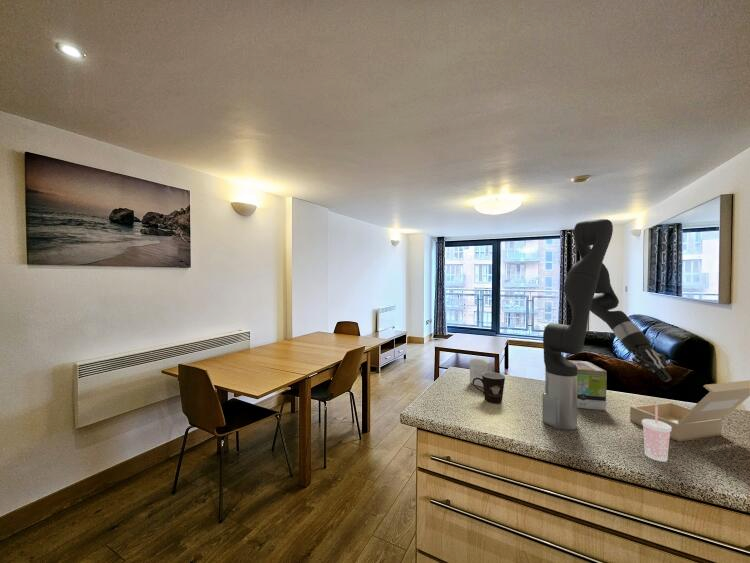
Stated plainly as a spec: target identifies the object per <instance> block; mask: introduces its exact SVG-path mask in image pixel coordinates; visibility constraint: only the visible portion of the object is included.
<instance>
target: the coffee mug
mask: <svg viewBox="0 0 750 563" xmlns="http://www.w3.org/2000/svg"><path fill="white" fill-rule="evenodd" d="M476 379H479V380H481V382H482V383H483V387H482V388H483V390H482V389H480V388H479V387H478V386H477V385H475V384H474V381H475V380H476ZM505 380H506V376H505V374H503V373H500V372H499V373H498V372H495V371H492V372H485V373H483V374H482V379H480V378H475V379H473V382H472V383H473V384H472V383H471V384H472V385H473V386H474V388H475V389H477V390H478V391H479V392H480V393H482V394H483V396H484V401H485V402H487V403H490V404H496V405H499V404H501V403H502V402H503V396H504V389H505V388H504V387H505Z"/></svg>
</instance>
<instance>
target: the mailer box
mask: <svg viewBox="0 0 750 563" xmlns="http://www.w3.org/2000/svg"><path fill="white" fill-rule="evenodd" d="M655 405H657V406H658V421H661V422H664V423H666V424H668V425H670V426H671V427H672V429H671V430H672V431H671V432H670V439H671V440H673V441H674V442H675V441H676V442H677V443H679V442H686V441H693V440H698V439H704V438H705V439H706V438H713V437H718V436H722V430H723V429H722V425H723V423H722V421H723V418H721V419H714V420H706V421H699V422H692V423H684V424H679V423H678V421H679V420H680V419H681V418H683V417H684V416H685V415H686V414H687V413H688V412H689V411H690V410H691V409H692V408H691V407H690V408H689V407H686V406H684V405H682V404H677V403H674V402H671V401H668V402H667V401H666V402H659V403H650V404H641V405H631V406H630V407H629V408H630V409H629V410H630V411H629V413H630V414H629V421H630V422H631V423H634V424H636V425H638V426H641V427H643V425H642V420H643V419H652V420H655ZM670 439H669V440H670Z"/></svg>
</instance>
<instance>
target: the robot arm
mask: <svg viewBox="0 0 750 563" xmlns="http://www.w3.org/2000/svg"><path fill="white" fill-rule="evenodd" d="M613 230H614V227H613V223H612V221H611V220H610V219H606V218H604V219H603V218H601V219H587V220H581V221H580V220H579V221H578V222H577V223H576V224H575V225H574V230H573V238H574V242H575V246H576V248H577V251H578V253H579V256H580V259H579V260H578V261H577V262H576V263H575V264H574V265H572V267H571V268H570V269H569V270H568V273H567V275H566V278H565V282H564V285H563V293H564V294H565V297H566V300H567V302H568V304H569V306H570V309H571V312H572V318H571V322H570V324H562V323H554V322H553V323H548V324H547V325H546V326H545V327H544V330H543V333H542V340H543V341H542V346H543V363H544V366H545V368H544V370H545V371H544V372H545V373H544V375H545V376H544V377H545V378H544V380H545V381H544V383H545V384H544V385H545V386H544V387H545V388H544V393H542V408H541V409H542V411H541V412H542V413H541V414H542V417H541V420H542V422H544V423H545V424H547V425H549V426H550V427H552V428H554V429H555V430H564V431H565V430H566V431H573V430H576V429H577V427H578V407H577V374H578V369H577V366H576V365H575V364H573V363H572V362H570V361H568V359H567V358H566V357H565V356H564V355H563V354H562V353H564V354H569V355H578V354H580V353H581V352H582V349H583V347H584V344H585V339H586V335H587V328H588V320H589V317H590V316H589V315H590V312H591V313H592V314H593V315H594V316H597V317H598V318H599V319H601V321H603V322H604V323H605V324H607V326H608V327H609V328H610V329H611V331H612V332H613V334H614V335H615V337H616V338H617V339H618V341H619V342H620V343H621V344H622V346H624V348H625V349H626V350H627V352H629V354H631V353H632V354H633V357H632V358H631V361H632V362H635V363H636V364H637V365H639V366H640V367H642V368H643V369H646V371H649V372H650V371H652V372H653V373H655V374H656V375H657V376H658V378H659V379H660V380H661V381H662V382H663V383H665V382H666V383H667V382H669V381H671V380H672V376H671V375H670V374H669V373H668V371H667V370H666V369H665V368H666V367H668V364H667V363H668V362H667V358H666V355H665V354H664V353H663V352H662V353H658V352H657V351H656V350H655V349H654V348H653V347H652V346H651V344H652V341H651V340H650V339H649V338H648V337H647V336H646V334H645V333H644V332H643V331H642V330H641V329H640V328H639V327H638V326H637V325H636V324H635V323H634V322H633V321H632V320H631V319H630V317H628V315H627V314H626V313H625V312H624V311H622V310H614V309H616V308H618V305H619V303H620V302H619V298H618V296H617V295H616V293H615V292H614V289H613V287H612V284H611V278H610V273H609V269H608V268H607V267H606V265H605V264H604V263H603V262H604V258H605V257H606V253H607V251H608V248H609V246H610V242H611V240H612V236H613V232H614V231H613ZM591 246H592V247H591ZM595 294H596V295H595Z"/></svg>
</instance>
